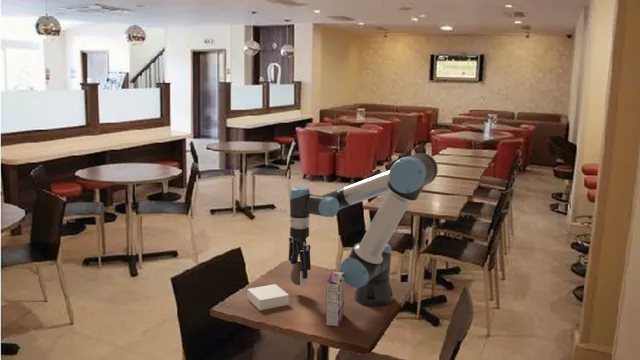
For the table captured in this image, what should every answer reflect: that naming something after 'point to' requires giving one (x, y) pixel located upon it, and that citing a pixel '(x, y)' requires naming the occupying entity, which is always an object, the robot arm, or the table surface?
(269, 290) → the plinth
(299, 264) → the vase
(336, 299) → the candy bar box
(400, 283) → the table surface
